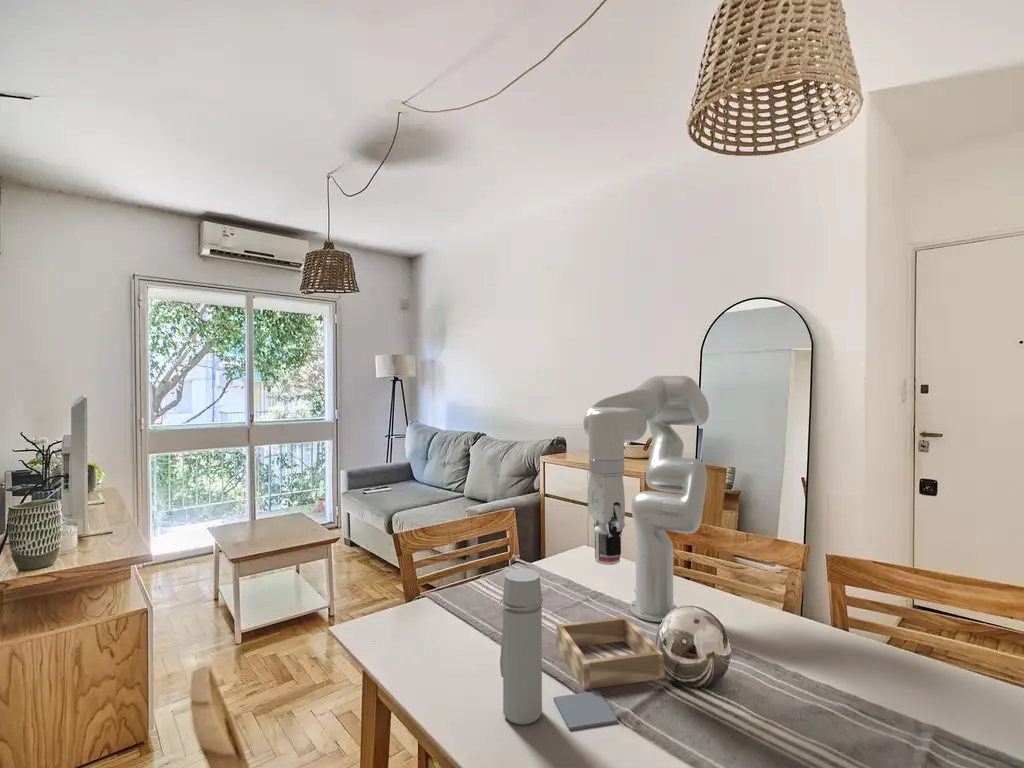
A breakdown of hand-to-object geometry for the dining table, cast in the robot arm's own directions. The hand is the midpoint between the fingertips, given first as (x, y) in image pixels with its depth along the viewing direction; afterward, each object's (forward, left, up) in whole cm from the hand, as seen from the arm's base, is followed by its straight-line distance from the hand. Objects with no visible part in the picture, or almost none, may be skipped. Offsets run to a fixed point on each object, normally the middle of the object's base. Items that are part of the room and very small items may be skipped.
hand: (607, 549), depth 111 cm
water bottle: (+13, -23, -24) cm, 36 cm away
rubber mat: (+15, -11, -24) cm, 30 cm away
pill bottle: (0, 0, -3) cm, 3 cm away
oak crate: (0, 0, -24) cm, 24 cm away
